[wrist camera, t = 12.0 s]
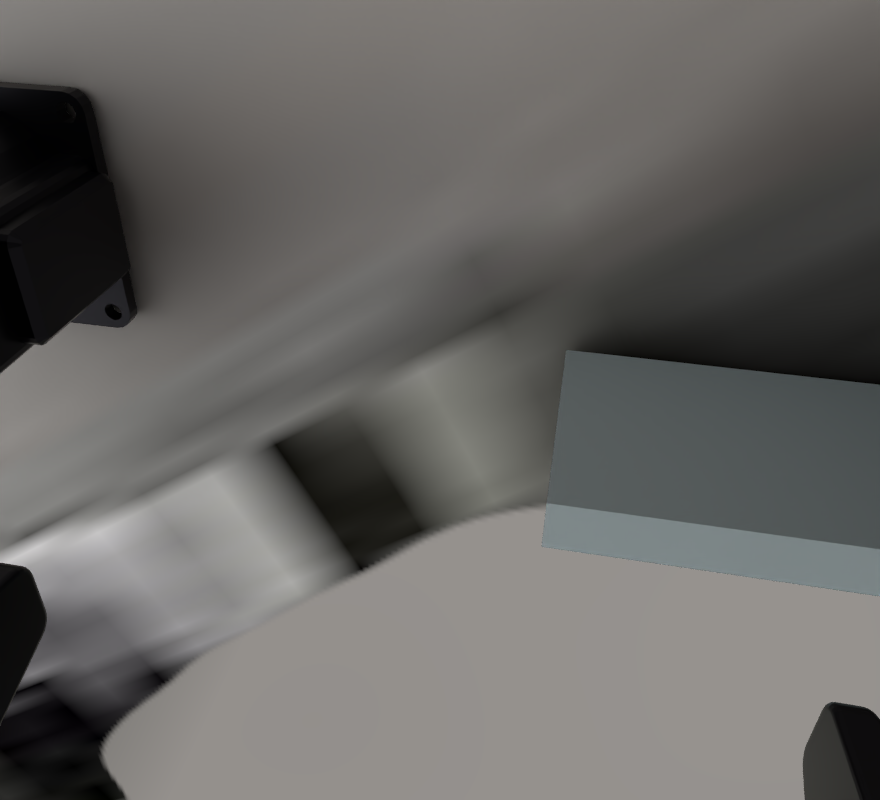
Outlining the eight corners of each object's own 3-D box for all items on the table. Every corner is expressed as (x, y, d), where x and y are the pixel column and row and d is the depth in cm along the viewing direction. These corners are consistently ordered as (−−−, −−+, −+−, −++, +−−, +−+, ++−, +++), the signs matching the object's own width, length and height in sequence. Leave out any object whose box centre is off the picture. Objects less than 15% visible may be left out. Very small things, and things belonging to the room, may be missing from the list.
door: (1076, 406, 19) (1224, 596, 15) (1054, 446, 20) (1187, 641, 15) (566, 349, 21) (546, 503, 16) (561, 388, 22) (541, 546, 17)
